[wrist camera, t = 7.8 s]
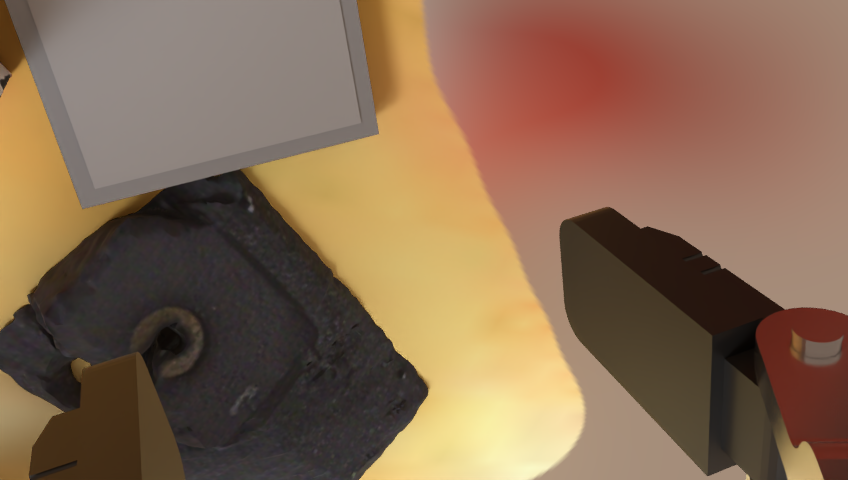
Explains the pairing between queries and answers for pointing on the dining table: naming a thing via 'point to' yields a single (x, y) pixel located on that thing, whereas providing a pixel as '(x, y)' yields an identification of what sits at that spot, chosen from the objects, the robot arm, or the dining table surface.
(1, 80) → the candy bar box
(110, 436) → the robot arm
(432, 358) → the dining table surface
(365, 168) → the dining table surface
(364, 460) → the dark slate chunk
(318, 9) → the slate board
